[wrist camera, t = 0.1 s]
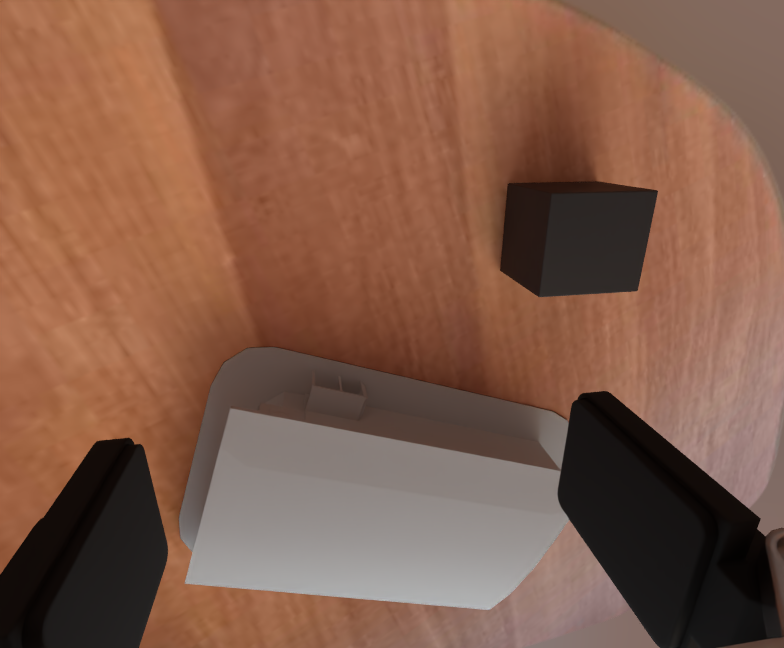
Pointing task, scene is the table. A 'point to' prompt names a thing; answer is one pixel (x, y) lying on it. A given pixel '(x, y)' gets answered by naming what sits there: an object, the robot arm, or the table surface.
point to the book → (367, 485)
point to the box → (576, 236)
